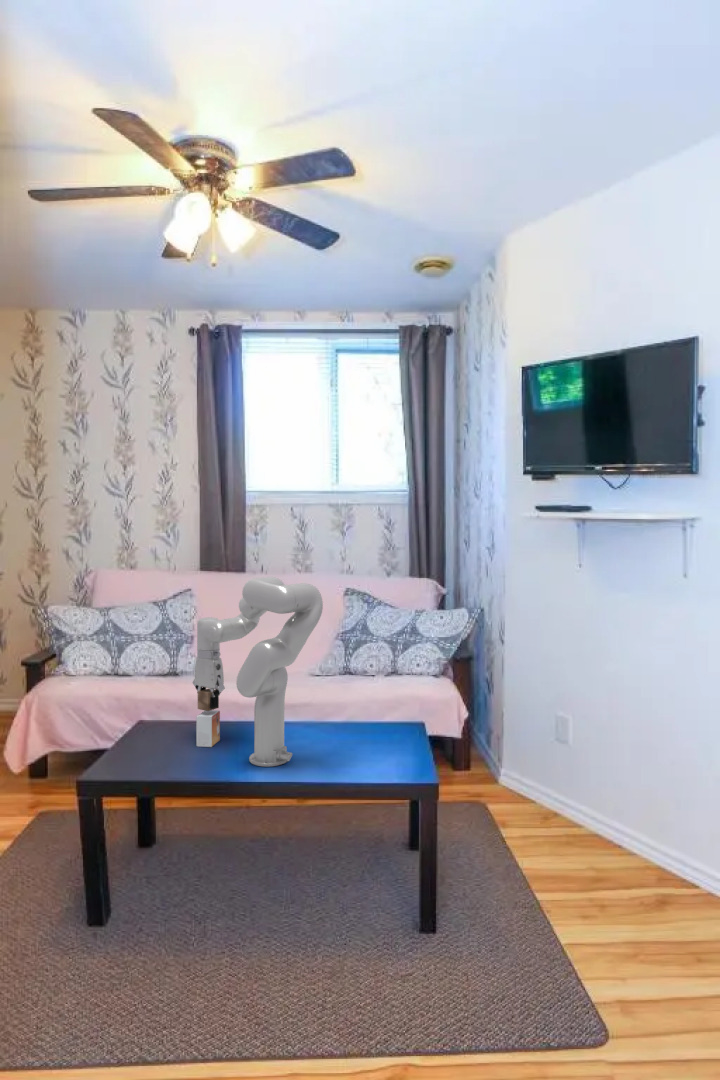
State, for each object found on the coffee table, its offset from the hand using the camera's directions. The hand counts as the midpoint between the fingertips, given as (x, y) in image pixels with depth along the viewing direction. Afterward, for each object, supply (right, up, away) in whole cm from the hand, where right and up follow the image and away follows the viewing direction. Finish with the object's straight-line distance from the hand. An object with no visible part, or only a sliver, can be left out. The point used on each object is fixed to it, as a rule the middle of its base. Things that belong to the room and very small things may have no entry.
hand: (208, 705), depth 230 cm
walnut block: (0, -1, 0) cm, 1 cm away
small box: (0, -13, 0) cm, 13 cm away
